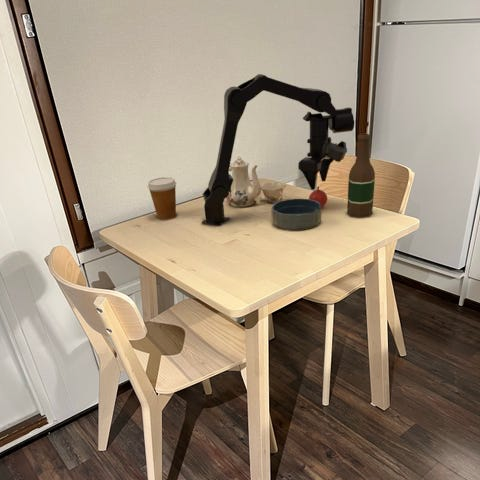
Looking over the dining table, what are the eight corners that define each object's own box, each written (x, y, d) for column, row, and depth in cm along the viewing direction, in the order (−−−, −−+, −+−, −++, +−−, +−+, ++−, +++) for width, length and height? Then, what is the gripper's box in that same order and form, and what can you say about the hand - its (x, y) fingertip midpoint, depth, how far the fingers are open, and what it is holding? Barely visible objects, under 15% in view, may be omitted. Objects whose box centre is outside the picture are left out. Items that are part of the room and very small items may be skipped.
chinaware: (292, 202, 173) (294, 153, 166) (269, 212, 161) (270, 160, 153) (227, 194, 187) (225, 148, 179) (201, 203, 174) (198, 155, 167)
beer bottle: (372, 218, 151) (378, 136, 138) (346, 217, 152) (350, 137, 140) (371, 209, 157) (377, 131, 145) (347, 209, 159) (350, 132, 146)
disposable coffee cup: (178, 220, 162) (173, 184, 155) (150, 222, 162) (144, 186, 156) (182, 210, 170) (177, 176, 163) (155, 212, 170) (149, 177, 164)
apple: (323, 211, 158) (323, 189, 155) (305, 210, 161) (305, 188, 157) (329, 206, 163) (330, 184, 159) (312, 204, 165) (313, 183, 162)
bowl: (309, 233, 144) (309, 217, 141) (263, 227, 151) (263, 211, 148) (328, 216, 155) (328, 201, 152) (284, 211, 161) (284, 196, 159)
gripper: (333, 142, 139) (331, 196, 148) (354, 129, 153) (351, 179, 161) (297, 141, 145) (298, 193, 153) (320, 128, 158) (320, 176, 166)
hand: (318, 185), depth 158 cm, fingers open, 9 cm apart
